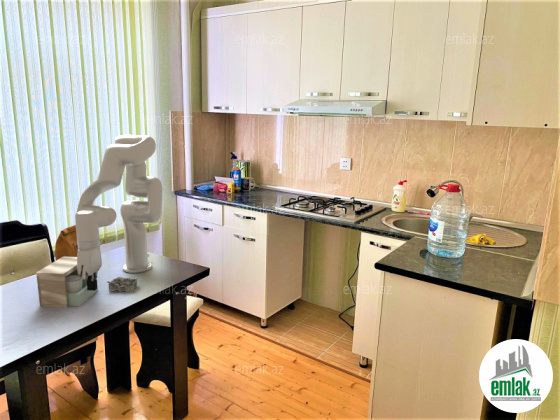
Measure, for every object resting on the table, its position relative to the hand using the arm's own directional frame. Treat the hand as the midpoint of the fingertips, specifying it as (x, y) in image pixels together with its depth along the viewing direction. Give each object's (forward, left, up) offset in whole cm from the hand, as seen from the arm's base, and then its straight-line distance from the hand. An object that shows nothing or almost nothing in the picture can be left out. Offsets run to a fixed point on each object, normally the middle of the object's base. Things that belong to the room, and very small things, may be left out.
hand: (92, 289), depth 156 cm
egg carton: (-10, +7, -4) cm, 13 cm away
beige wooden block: (0, -10, -4) cm, 11 cm away
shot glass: (0, -8, -3) cm, 8 cm away
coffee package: (-20, -18, -4) cm, 27 cm away
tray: (0, -8, -4) cm, 8 cm away
